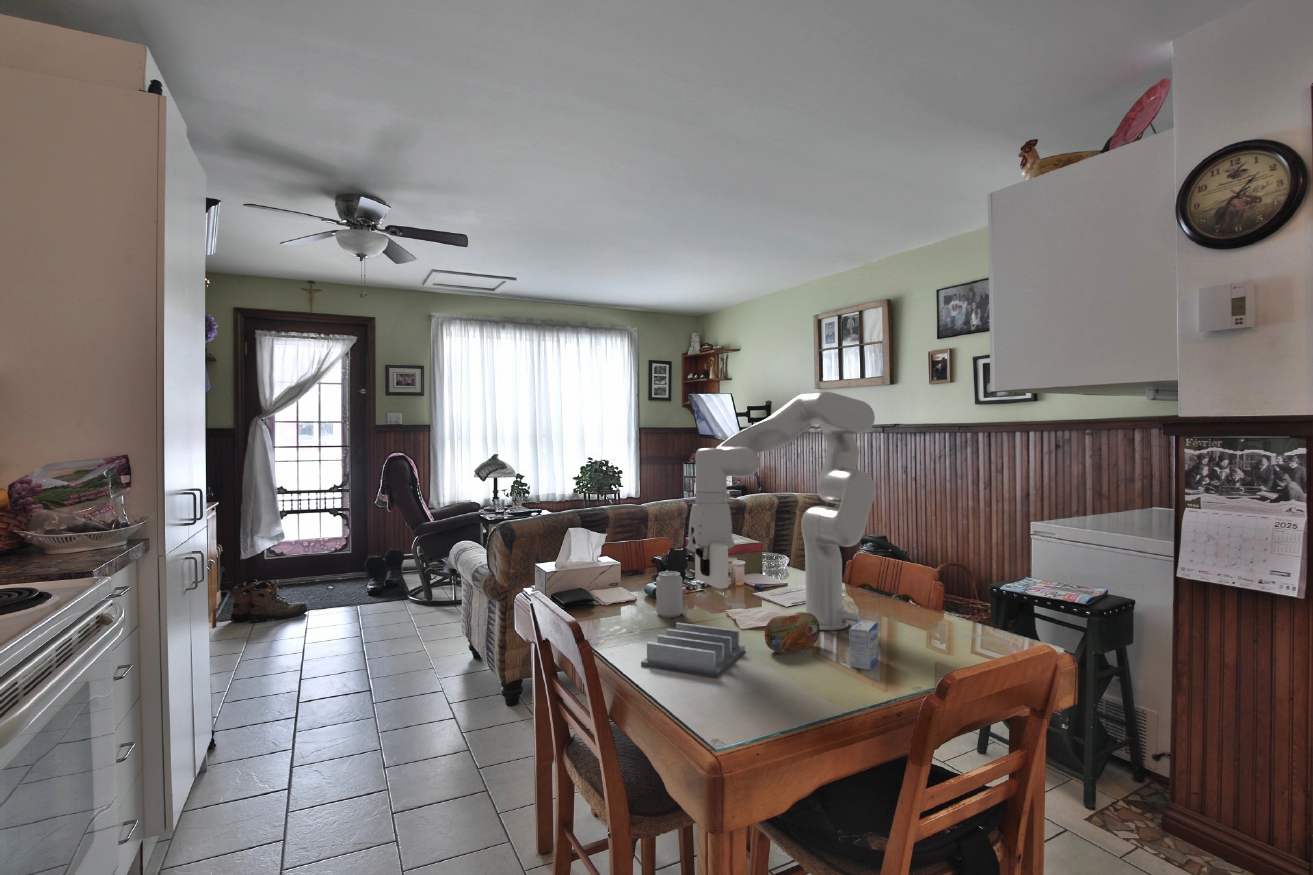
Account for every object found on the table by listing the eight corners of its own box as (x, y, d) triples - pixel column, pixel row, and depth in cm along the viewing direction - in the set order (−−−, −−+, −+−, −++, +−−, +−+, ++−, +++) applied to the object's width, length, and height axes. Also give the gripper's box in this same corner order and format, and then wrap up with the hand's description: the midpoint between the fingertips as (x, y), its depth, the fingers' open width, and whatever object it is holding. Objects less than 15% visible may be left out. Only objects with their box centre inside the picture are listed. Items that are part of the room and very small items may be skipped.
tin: (770, 656, 150) (770, 620, 150) (762, 652, 153) (762, 617, 153) (820, 645, 157) (820, 611, 157) (812, 642, 160) (811, 608, 160)
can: (680, 618, 181) (680, 576, 181) (654, 617, 183) (653, 575, 183) (684, 611, 189) (684, 570, 188) (659, 610, 190) (658, 569, 190)
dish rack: (744, 650, 155) (744, 629, 155) (716, 678, 137) (716, 654, 137) (675, 640, 162) (675, 620, 162) (641, 666, 145) (640, 643, 145)
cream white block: (704, 577, 164) (704, 537, 164) (728, 587, 153) (727, 545, 153) (695, 578, 163) (695, 538, 163) (718, 588, 152) (718, 546, 152)
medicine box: (869, 671, 141) (869, 631, 140) (849, 667, 143) (848, 628, 143) (878, 659, 147) (878, 621, 147) (858, 656, 150) (858, 618, 150)
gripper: (731, 496, 164) (731, 568, 164) (674, 498, 158) (674, 574, 158) (747, 498, 158) (747, 574, 158) (688, 501, 151) (688, 580, 151)
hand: (711, 573), depth 158 cm, fingers closed on cream white block, 2 cm apart
